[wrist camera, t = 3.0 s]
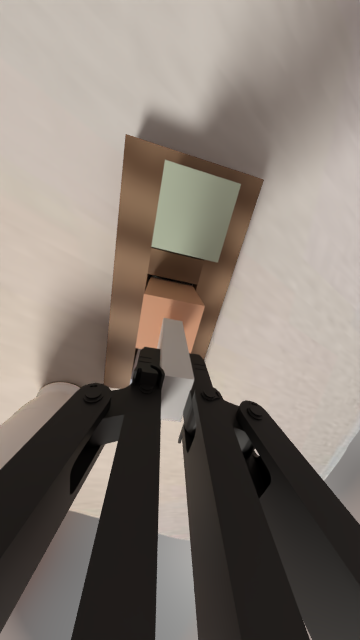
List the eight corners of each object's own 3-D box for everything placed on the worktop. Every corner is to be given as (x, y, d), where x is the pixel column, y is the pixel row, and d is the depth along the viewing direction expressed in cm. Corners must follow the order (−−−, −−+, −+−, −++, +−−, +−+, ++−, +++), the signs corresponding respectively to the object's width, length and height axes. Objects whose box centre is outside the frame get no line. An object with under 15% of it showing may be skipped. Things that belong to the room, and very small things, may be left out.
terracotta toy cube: (151, 276, 21) (143, 293, 14) (192, 285, 22) (204, 306, 15) (144, 316, 23) (135, 348, 16) (182, 323, 24) (189, 356, 17)
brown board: (131, 150, 18) (125, 133, 15) (250, 188, 20) (263, 179, 17) (109, 372, 29) (103, 386, 26) (189, 383, 31) (191, 397, 28)
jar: (87, 429, 33) (31, 561, 19) (25, 413, 31) (-89, 553, 17) (106, 388, 30) (56, 513, 16) (39, 366, 27) (-90, 493, 13)
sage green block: (165, 191, 18) (165, 159, 11) (213, 205, 19) (241, 184, 12) (156, 244, 20) (151, 246, 13) (200, 255, 20) (217, 262, 14)
